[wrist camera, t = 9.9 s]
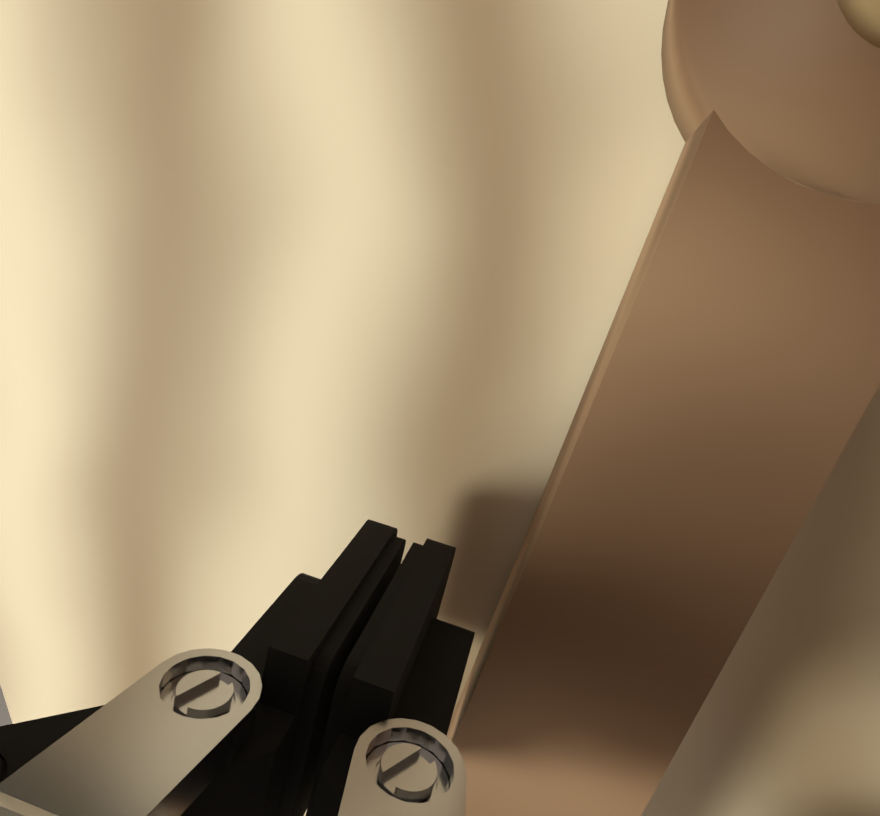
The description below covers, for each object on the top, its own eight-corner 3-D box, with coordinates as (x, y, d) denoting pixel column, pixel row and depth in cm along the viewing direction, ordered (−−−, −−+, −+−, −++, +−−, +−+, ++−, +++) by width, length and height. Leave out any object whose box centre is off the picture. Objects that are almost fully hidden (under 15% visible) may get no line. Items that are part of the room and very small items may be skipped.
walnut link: (753, -231, 9) (861, -558, 5) (1160, -139, 8) (1608, -443, 4) (347, 855, 15) (269, 1046, 11) (557, 958, 14) (543, 1195, 11)
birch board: (1437, -457, 8) (1616, -607, 7) (1207, 1076, 13) (1280, 1176, 12) (-136, 25, 15) (-215, 1, 13) (127, 923, 20) (92, 976, 18)
